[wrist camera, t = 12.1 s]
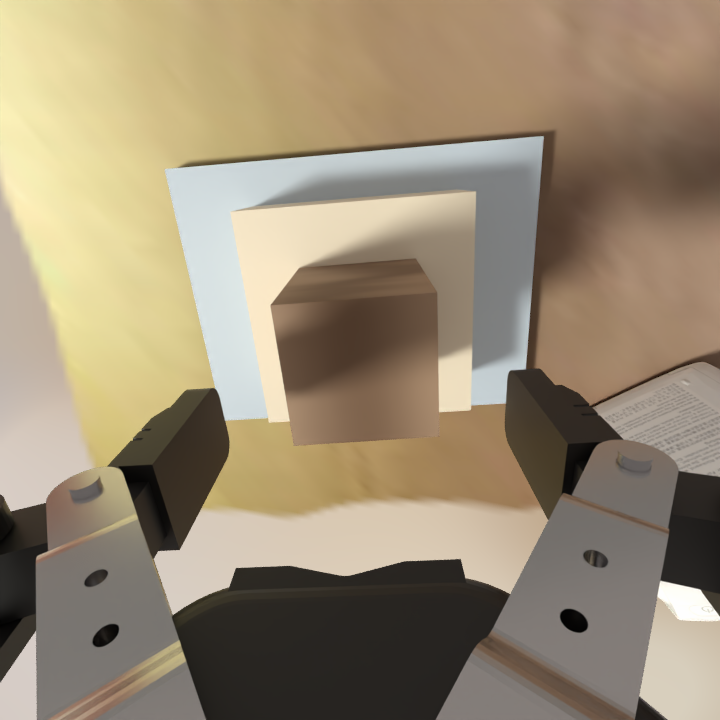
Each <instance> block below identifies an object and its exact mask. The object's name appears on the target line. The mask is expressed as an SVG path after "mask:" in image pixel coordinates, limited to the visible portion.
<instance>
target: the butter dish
mask: <svg viewBox="0 0 720 720" xmlns="http://www.w3.org/2000/svg"><path fill="white" fill-rule="evenodd" d="M543 140H544V136H538V137H526V138H515V139H504V140H492V141H481V142H469V143H458V144H446V145H435V146H424V147H412V148H401V149H389V150H378V151H367V152H355V153H344V154H332V155H321V156H309V157H298V158H287V159H275V160H264V161H252V162H241V163H230V164H218V165H207V166H195V167H184V168H172V169H165V173H166V177H167V181H168V186H169V190H170V194H171V199H172V203H173V207H174V212H175V216H176V220H177V225H178V229H179V233H180V238H181V242H182V246H183V250H184V255H185V259H186V263H187V268H188V272H189V276H190V281H191V285H192V289H193V294H194V298H195V302H196V307H197V311H198V315H199V319H200V324H201V328H202V332H203V337H204V341H205V345H206V350H207V354H208V358H209V363H210V367H211V371H212V376H213V380H214V384H215V388H216V390H217V392H218V394H219V397H220V401H221V405H222V410H223V414H224V418H225V420H242V419H258V418H268V420H269V422H286V421H290V420H289V414H288V408H287V402H286V396H285V390H284V384H283V378H282V372H281V366H280V360H279V354H278V349H277V343H276V337H275V331H274V325H273V319H272V313H271V307H270V305H271V304H272V303H273V301H274V300H275V299H276V297H277V296H278V295H279V293H280V292H281V291H282V290H283V288H284V287H285V286H286V284H287V283H288V282H289V280H290V279H291V278H292V276H293V275H294V274H295V273H296V271H297V270H298V269H299V268H304V267H316V266H329V265H341V264H353V263H365V262H378V261H390V260H402V259H414V258H416V260H417V261H418V263H419V264H420V266H421V267H422V269H423V271H424V272H425V274H426V275H427V277H428V278H429V280H430V282H431V283H432V285H433V286H434V288H435V290H436V291H437V304H438V374H439V412H449V411H465V410H471V405H485V404H501V403H506V392H507V378H508V373H509V371H511V370H523V369H526V359H527V346H528V334H529V321H530V308H531V295H532V282H533V269H534V256H535V243H536V230H537V217H538V204H539V191H540V179H541V166H542V153H543Z"/></svg>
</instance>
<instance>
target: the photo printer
mask: <svg viewBox="0 0 720 720" xmlns="http://www.w3.org/2000/svg"><path fill="white" fill-rule="evenodd" d="M592 408H593V409H594V410H595V411H596V412H597V413H598V415H600V416H601V417H602V418H603V419H604V420H605V421H606V422H607V423H608V424H609V425H610V426H611V427H612V428H613V429H614V430H615V431H616V432H617V433H618V434H619V435H620V436H621V437H622V438H623V439H624V440H630V441H636V442H640V443H644V444H647V445H650V446H652V447H655V448H657V449H659V450H661V451H663V452H664V453H666V454H667V455H669V456H670V457H671V458H672V459H673V460H674V461H675V462H676V464H677V466H678V471H683V472H689V473H696V474H703V475H711V476H718V477H720V369H718V368H716V367H714V366H712V365H711V364H708V363H705V362H697V363H693V364H690V365H687V366H684V367H681V368H678V369H676V370H674V371H671V372H669V373H667V374H664V375H662V376H660V377H658V378H655V379H653V380H651V381H649V382H647V383H644V384H642V385H640V386H638V387H635V388H633V389H631V390H629V391H627V392H625V393H622V394H620V395H618V396H616V397H614V398H612V399H610V400H608V401H605V402H603V403H601V404H599V405H597V406H595V407H592ZM657 597H658V598H660V599H661V600H663V601H664V603H665V604H666V605H667V607H668V608H669V609H670V610H671V612H672V613H673V614H674V615H675V616H676V617H677V618H678V619H679V620H689V621H720V616H719V615H718V614H717V612H716V611H715V609H714V608H713V607H712V605H711V604H710V603H709V601H708V600H707V599H706V597H705V596H704V594H703V593H702V591H701V590H700V589H695V588H691V587H686V586H682V585H677V584H672V583H668V582H663V581H660V585H659V590H658V596H657Z"/></svg>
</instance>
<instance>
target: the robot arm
mask: <svg viewBox="0 0 720 720" xmlns="http://www.w3.org/2000/svg"><path fill="white" fill-rule="evenodd" d="M505 432H506V437H507V441H508V444H509V446H510V448H511V450H512V452H513V454H514V456H515V457H516V459H517V461H518V463H519V465H520V467H521V469H522V471H523V473H524V475H525V477H526V479H527V480H528V482H529V484H530V486H531V488H532V490H533V492H534V494H535V496H536V498H537V500H538V501H539V503H540V505H541V507H542V509H543V511H544V513H545V515H546V517H547V519H548V522H547V524H546V526H545V528H544V530H543V532H542V534H541V536H540V538H539V540H538V542H537V544H536V546H535V547H534V550H533V551H532V553H531V555H530V557H529V559H528V561H527V563H526V565H525V567H524V569H523V571H522V573H521V575H520V577H519V579H518V581H517V582H516V584H515V586H514V588H513V590H512V592H511V594H509V593H506V592H505V591H503V590H501V589H498V588H496V587H493V586H491V585H489V584H485V583H482V582H479V581H475V580H471V579H466V578H465V575H464V571H463V567H462V563H461V559H455V560H430V561H406V562H401V563H397V564H393V565H389V566H386V567H382V568H378V569H374V570H370V571H366V572H363V573H359V574H355V575H351V576H339V575H334V574H328V573H323V572H318V571H313V570H308V569H303V568H298V567H293V566H278V567H254V568H236V570H235V573H234V576H233V578H232V581H231V584H230V587H229V588H226V589H222V590H220V591H217V592H214V593H212V594H209V595H207V596H205V597H203V598H201V599H198V600H196V601H195V602H193V603H191V604H190V605H188V606H186V607H184V608H183V609H181V610H180V611H178V612H177V613H176V614H174V615H173V614H172V611H171V609H170V606H169V603H168V600H167V597H166V594H165V591H164V588H163V586H162V582H161V579H160V576H159V574H158V571H157V568H156V565H155V562H154V557H155V555H156V554H157V552H158V551H165V550H166V551H167V550H180V548H181V546H182V544H183V542H184V541H185V539H186V537H187V535H188V533H189V531H190V529H191V527H192V525H193V523H194V521H195V519H196V517H197V516H198V514H199V512H200V510H201V508H202V506H203V504H204V502H205V500H206V498H207V496H208V494H209V492H210V490H211V489H212V487H213V485H214V483H215V481H216V479H217V477H218V475H219V473H220V471H221V469H222V467H223V465H224V464H225V462H226V460H227V457H228V453H229V436H228V431H227V427H226V423H225V418H224V414H223V410H222V405H221V401H220V397H219V394H218V392H217V390H216V389H214V388H208V389H192V390H186V391H185V392H184V393H183V394H182V395H181V396H180V397H179V398H178V400H177V401H176V402H175V403H174V404H173V405H172V406H171V407H170V408H167V409H166V410H164V411H162V412H161V413H159V414H158V415H156V416H154V417H153V418H151V420H150V421H149V422H148V423H147V424H146V425H145V426H144V427H143V428H142V431H139V433H138V434H137V435H136V436H135V437H134V438H133V441H130V442H129V443H128V444H127V445H126V447H125V448H124V449H123V450H122V451H121V452H120V453H119V454H118V455H117V456H116V457H115V458H114V460H113V461H112V462H111V463H110V464H109V465H108V466H107V467H99V468H94V469H90V470H87V471H84V472H81V473H79V474H76V475H74V476H72V477H70V478H69V479H67V480H65V481H64V482H62V483H61V484H60V485H58V486H57V487H56V488H54V490H52V491H51V493H50V494H49V495H48V497H47V500H46V503H44V504H40V505H36V506H32V507H28V508H24V509H19V510H15V511H12V512H11V511H10V509H9V507H8V505H7V504H6V501H5V499H4V497H3V496H2V495H0V682H1V681H2V679H3V678H4V676H5V675H6V673H7V672H8V670H9V669H10V668H11V666H12V664H13V663H14V662H15V660H16V659H17V657H18V656H19V654H20V653H21V652H22V650H23V649H24V647H25V646H26V644H27V643H28V641H29V640H30V638H31V637H32V636H33V634H34V633H35V631H36V658H37V659H36V661H37V663H36V664H37V720H667V719H666V718H665V717H664V716H662V715H661V714H660V713H659V712H658V711H656V710H655V709H654V708H652V707H651V706H650V705H649V704H648V703H647V702H645V701H644V700H643V699H642V698H641V697H639V693H640V688H641V683H642V677H643V672H644V666H645V660H646V656H647V650H648V644H649V639H650V633H651V628H652V622H653V617H654V612H655V607H656V601H657V596H658V590H659V585H660V581H663V582H668V583H672V584H677V585H682V586H686V587H691V588H695V589H700V590H701V591H702V593H703V594H704V596H705V597H706V599H707V600H708V601H709V603H710V604H711V605H712V607H713V608H714V609H715V611H716V612H717V614H718V615H719V616H720V477H718V476H711V475H703V474H696V473H689V472H683V471H678V466H677V464H676V462H675V461H674V460H673V459H672V458H671V457H670V456H669V455H667V454H666V453H664V452H663V451H661V450H659V449H657V448H655V447H652V446H650V445H647V444H644V443H640V442H636V441H630V440H624V439H623V438H622V437H621V436H620V435H619V434H618V433H617V432H616V431H615V430H614V429H613V428H612V427H611V426H610V425H609V424H608V423H607V422H606V421H605V420H604V419H603V418H602V417H601V416H600V415H598V413H597V412H596V411H595V410H594V409H593V408H592V407H591V406H589V403H588V402H587V401H586V400H585V399H584V398H583V397H582V396H581V395H580V394H579V393H577V392H575V391H573V390H571V389H569V388H567V387H565V386H563V385H554V384H553V382H552V381H551V380H550V379H549V378H548V377H547V376H546V375H545V374H544V372H543V371H542V370H541V369H523V370H511V371H509V373H508V378H507V392H506V410H505Z"/></svg>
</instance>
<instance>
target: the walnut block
mask: <svg viewBox="0 0 720 720" xmlns="http://www.w3.org/2000/svg"><path fill="white" fill-rule="evenodd" d="M270 307H271V313H272V319H273V325H274V331H275V337H276V343H277V349H278V354H279V360H280V366H281V372H282V378H283V384H284V390H285V396H286V402H287V408H288V414H289V420H290V426H291V431H292V437H293V443H294V446H297V445H313V444H329V443H345V442H361V441H376V440H392V439H408V438H424V437H439V374H438V304H437V291H436V290H435V288H434V286H433V285H432V283H431V282H430V280H429V278H428V277H427V275H426V274H425V272H424V271H423V269H422V267H421V266H420V264H419V263H418V261H417V260H416V258H414V259H402V260H390V261H378V262H365V263H353V264H341V265H329V266H316V267H304V268H299V269H298V270H297V271H296V273H295V274H294V275H293V276H292V278H291V279H290V280H289V282H288V283H287V284H286V286H285V287H284V288H283V290H282V291H281V292H280V293H279V295H278V296H277V297H276V299H275V300H274V301H273V303H272V304H271V305H270Z"/></svg>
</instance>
